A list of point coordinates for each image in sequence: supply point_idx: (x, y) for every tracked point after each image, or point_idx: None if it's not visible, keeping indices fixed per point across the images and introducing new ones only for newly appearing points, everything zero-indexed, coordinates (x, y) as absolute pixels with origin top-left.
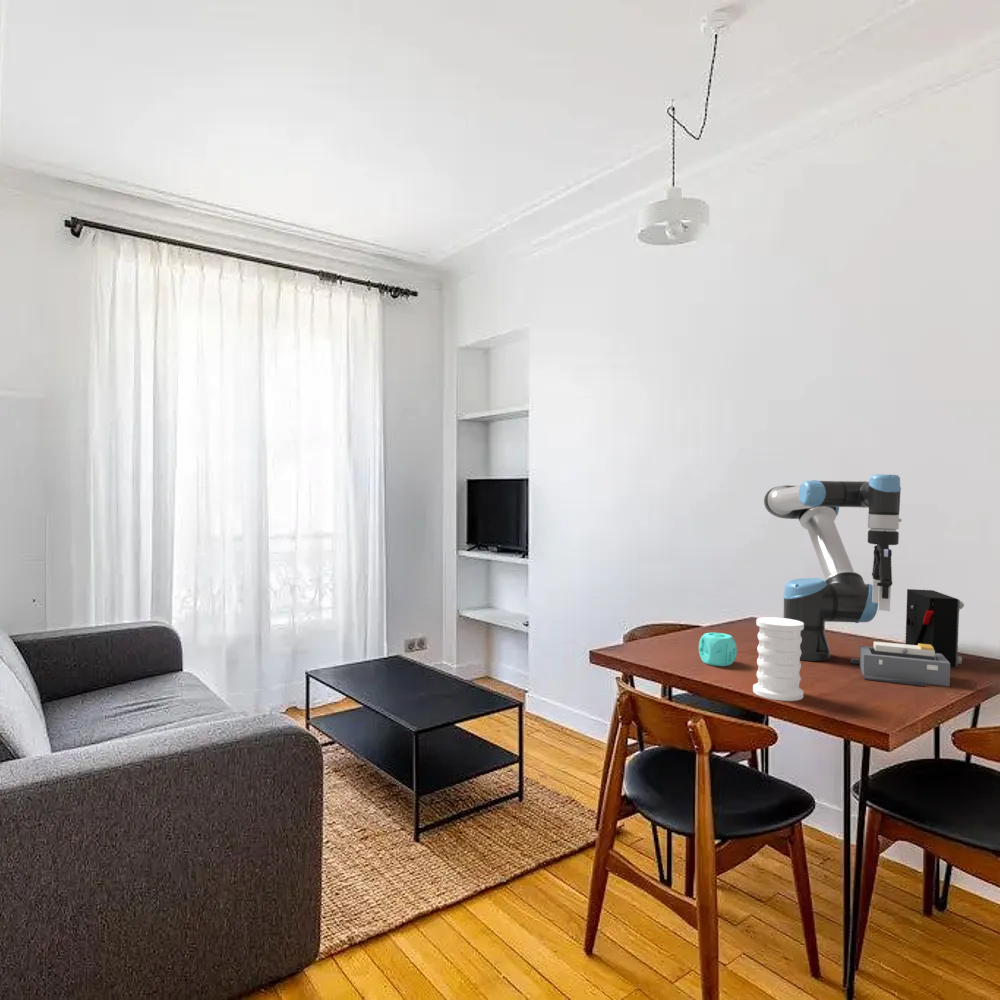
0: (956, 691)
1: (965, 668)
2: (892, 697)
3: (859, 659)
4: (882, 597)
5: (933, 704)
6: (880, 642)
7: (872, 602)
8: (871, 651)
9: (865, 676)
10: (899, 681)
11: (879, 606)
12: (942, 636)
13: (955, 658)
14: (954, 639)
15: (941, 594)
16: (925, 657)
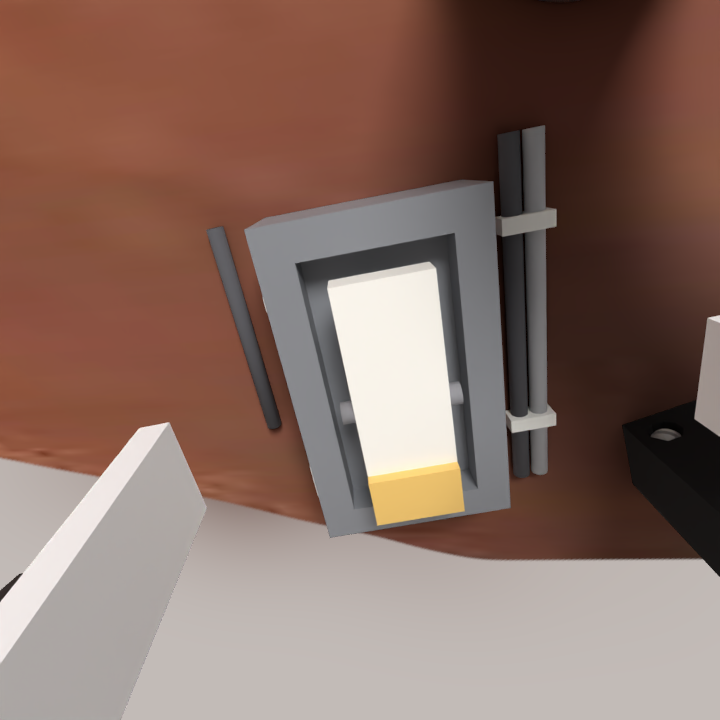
0: (279, 495)
1: (634, 506)
2: (21, 345)
3: (533, 170)
4: (5, 589)
5: (52, 452)
6: (425, 305)
7: (710, 317)
8: (450, 244)
9: (209, 233)
10: (245, 353)
11: (121, 460)
12: (715, 535)
13: (654, 505)
14: (710, 561)
15: None
16: (470, 451)
